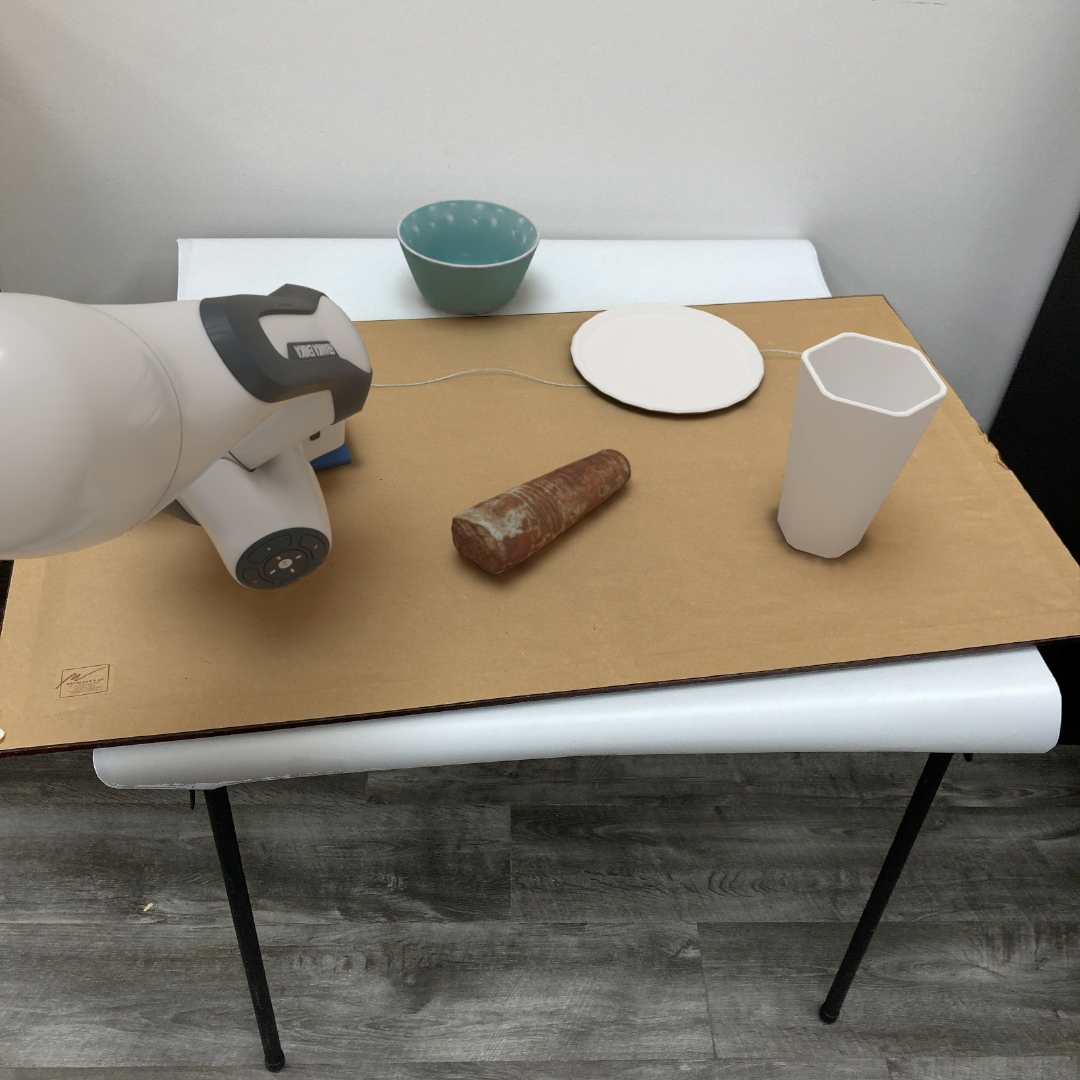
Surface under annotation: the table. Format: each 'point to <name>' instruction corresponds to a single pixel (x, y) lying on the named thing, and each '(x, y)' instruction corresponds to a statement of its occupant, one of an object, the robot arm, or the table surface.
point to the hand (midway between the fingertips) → (210, 348)
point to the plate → (667, 358)
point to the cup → (851, 437)
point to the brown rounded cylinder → (536, 511)
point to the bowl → (467, 253)
